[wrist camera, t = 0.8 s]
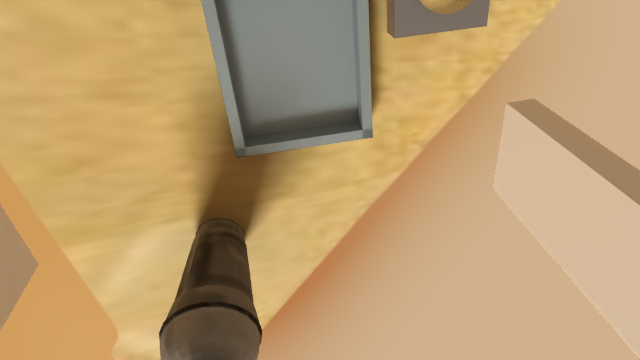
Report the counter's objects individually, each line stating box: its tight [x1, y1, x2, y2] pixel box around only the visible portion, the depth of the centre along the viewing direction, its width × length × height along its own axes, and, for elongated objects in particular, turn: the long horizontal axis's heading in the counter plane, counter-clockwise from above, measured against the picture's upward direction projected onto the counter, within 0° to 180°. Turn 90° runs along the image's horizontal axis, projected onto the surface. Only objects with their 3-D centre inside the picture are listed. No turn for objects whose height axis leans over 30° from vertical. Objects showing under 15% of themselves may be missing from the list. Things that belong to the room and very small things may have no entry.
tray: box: [201, 0, 373, 158], centre depth 32 cm, size 13×11×2 cm
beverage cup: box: [159, 219, 262, 360], centre depth 32 cm, size 7×7×20 cm
